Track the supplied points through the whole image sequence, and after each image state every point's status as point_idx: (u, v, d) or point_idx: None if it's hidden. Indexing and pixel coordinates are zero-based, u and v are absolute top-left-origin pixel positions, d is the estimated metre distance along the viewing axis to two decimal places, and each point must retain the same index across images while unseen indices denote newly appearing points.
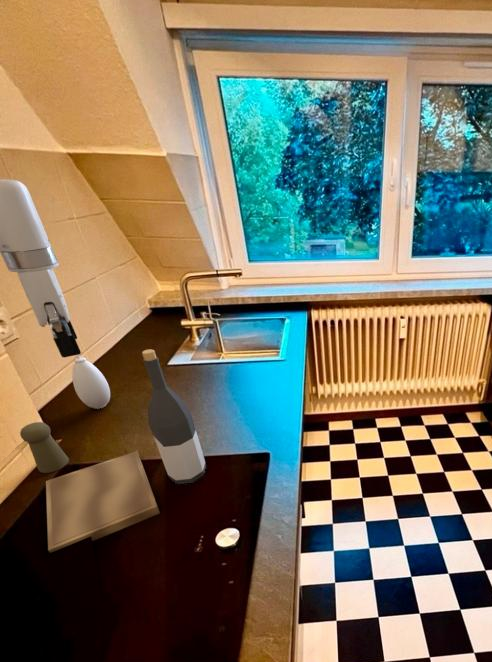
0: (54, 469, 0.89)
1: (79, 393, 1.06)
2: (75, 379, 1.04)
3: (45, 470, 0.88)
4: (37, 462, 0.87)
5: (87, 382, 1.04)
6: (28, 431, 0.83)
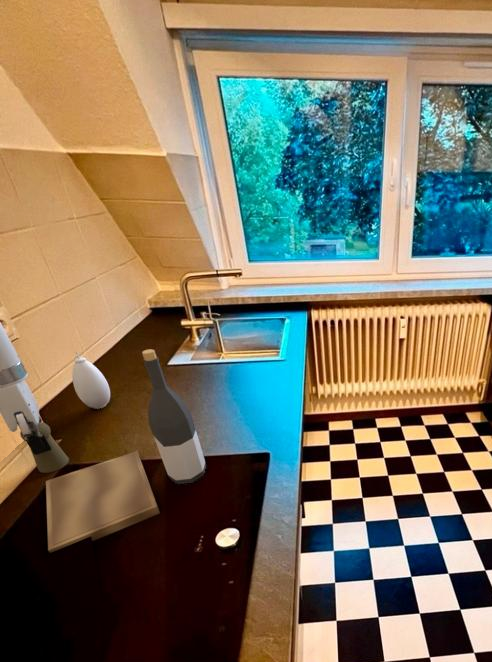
0: (54, 469, 0.89)
1: (79, 393, 1.06)
2: (75, 379, 1.04)
3: (45, 470, 0.88)
4: (37, 462, 0.87)
5: (87, 382, 1.04)
6: None
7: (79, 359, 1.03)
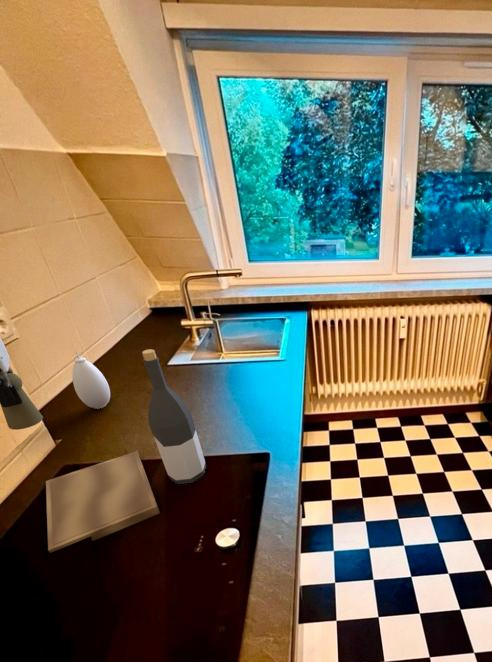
0: (26, 426, 0.81)
1: (79, 393, 1.06)
2: (75, 379, 1.04)
3: (15, 426, 0.81)
4: (7, 417, 0.80)
5: (87, 382, 1.04)
6: None
7: (79, 359, 1.03)
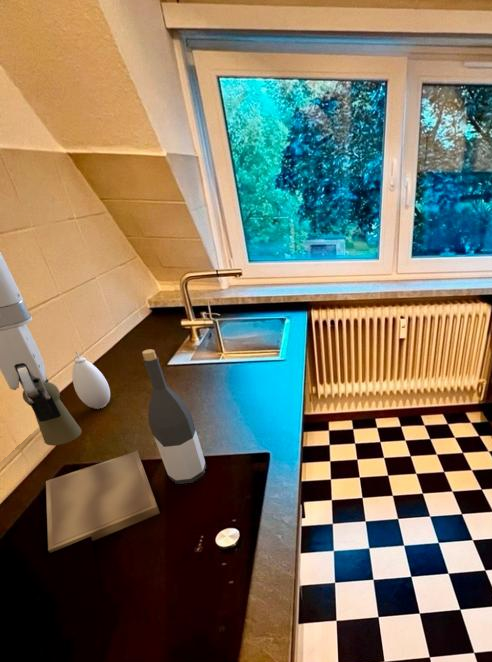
0: (64, 441, 0.72)
1: (79, 393, 1.06)
2: (75, 379, 1.04)
3: (53, 442, 0.71)
4: (44, 432, 0.71)
5: (87, 382, 1.04)
6: None
7: (79, 359, 1.03)
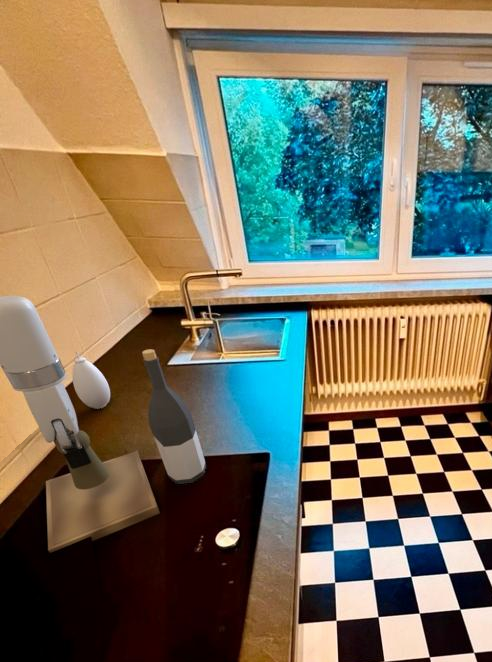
0: (93, 485, 0.76)
1: (79, 393, 1.06)
2: (75, 379, 1.04)
3: (83, 486, 0.75)
4: (74, 477, 0.74)
5: (87, 382, 1.04)
6: None
7: (79, 359, 1.03)
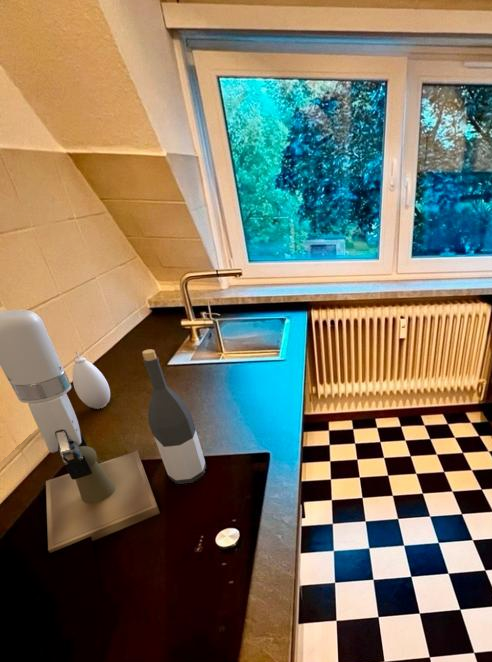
0: (100, 499, 0.78)
1: (79, 393, 1.06)
2: (75, 379, 1.04)
3: (90, 500, 0.77)
4: (82, 492, 0.76)
5: (87, 382, 1.04)
6: None
7: (79, 359, 1.03)
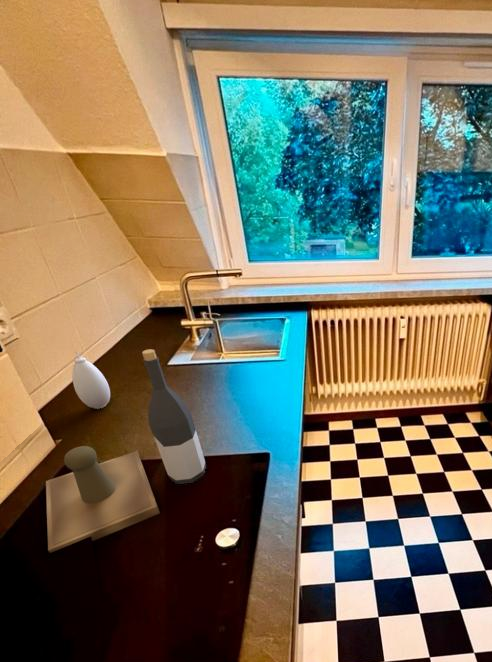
0: (100, 499, 0.78)
1: (79, 393, 1.06)
2: (75, 379, 1.04)
3: (90, 500, 0.77)
4: (82, 492, 0.76)
5: (87, 382, 1.04)
6: (73, 457, 0.72)
7: (79, 359, 1.03)
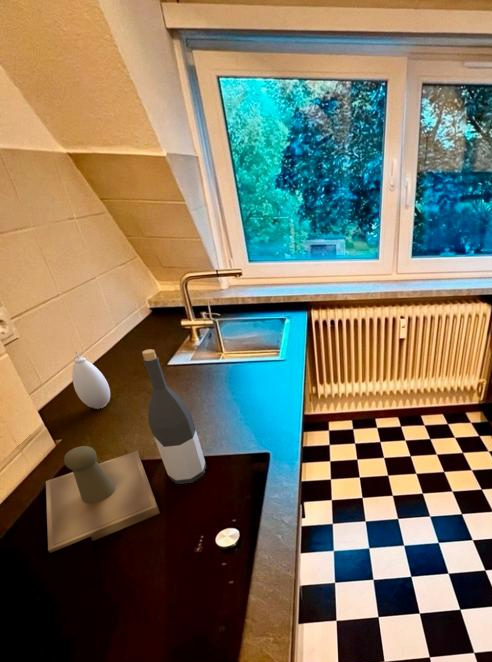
0: (100, 499, 0.78)
1: (79, 393, 1.06)
2: (75, 379, 1.04)
3: (90, 500, 0.77)
4: (82, 492, 0.76)
5: (87, 382, 1.04)
6: (73, 457, 0.72)
7: (79, 359, 1.03)
